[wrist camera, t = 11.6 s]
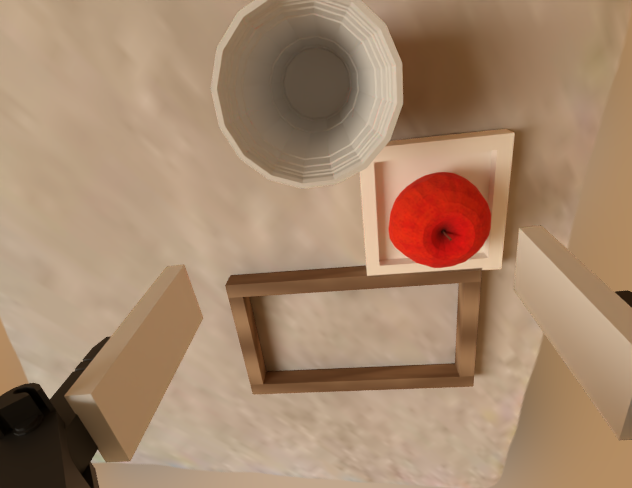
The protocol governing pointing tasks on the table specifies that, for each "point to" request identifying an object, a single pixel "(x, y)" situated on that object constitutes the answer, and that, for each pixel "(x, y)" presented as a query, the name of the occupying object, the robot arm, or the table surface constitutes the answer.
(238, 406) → the table surface
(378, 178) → the dish
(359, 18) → the plastic cup
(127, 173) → the table surface
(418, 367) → the pocket frame
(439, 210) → the apple
